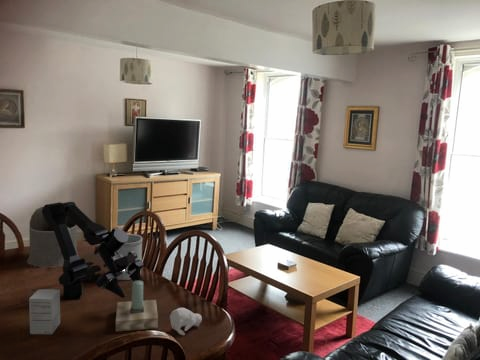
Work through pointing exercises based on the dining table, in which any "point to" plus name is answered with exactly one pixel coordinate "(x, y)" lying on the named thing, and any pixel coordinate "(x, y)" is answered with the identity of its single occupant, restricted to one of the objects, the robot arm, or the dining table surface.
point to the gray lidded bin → (47, 241)
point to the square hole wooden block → (136, 316)
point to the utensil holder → (130, 245)
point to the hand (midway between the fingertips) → (133, 292)
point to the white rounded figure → (184, 319)
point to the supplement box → (44, 311)
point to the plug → (137, 297)
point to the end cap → (92, 272)
